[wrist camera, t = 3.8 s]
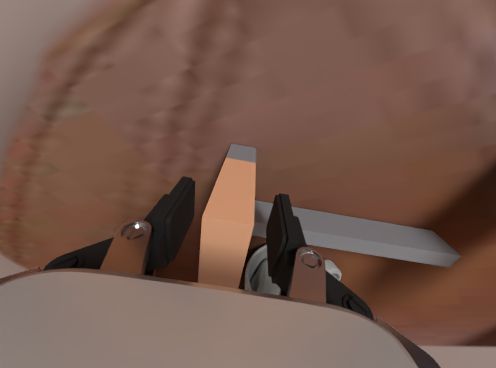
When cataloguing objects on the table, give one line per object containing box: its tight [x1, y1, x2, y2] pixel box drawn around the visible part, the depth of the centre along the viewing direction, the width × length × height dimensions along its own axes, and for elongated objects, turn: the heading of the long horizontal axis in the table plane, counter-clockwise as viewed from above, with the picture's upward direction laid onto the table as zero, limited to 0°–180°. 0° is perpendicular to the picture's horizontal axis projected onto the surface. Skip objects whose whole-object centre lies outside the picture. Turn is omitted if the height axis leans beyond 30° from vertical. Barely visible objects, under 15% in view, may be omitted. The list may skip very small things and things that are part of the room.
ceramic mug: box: [245, 245, 342, 295], centre depth 19 cm, size 11×8×8 cm
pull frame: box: [198, 144, 461, 289], centre depth 17 cm, size 20×22×9 cm
